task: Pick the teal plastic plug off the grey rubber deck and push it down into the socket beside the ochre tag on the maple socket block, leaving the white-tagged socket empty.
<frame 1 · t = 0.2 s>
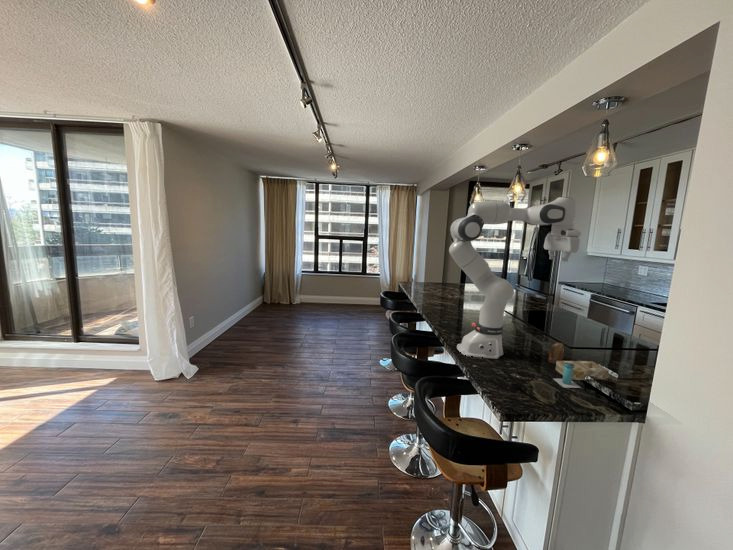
hand: (558, 260, 146), 48 cm above the counter, fingers open, 8 cm apart
plug: (566, 382, 121), point 1 cm above the counter, touching deck
deck: (566, 384, 121), on the counter
brown rounded slab: (555, 361, 143), on the counter
socket block: (580, 376, 129), on the counter
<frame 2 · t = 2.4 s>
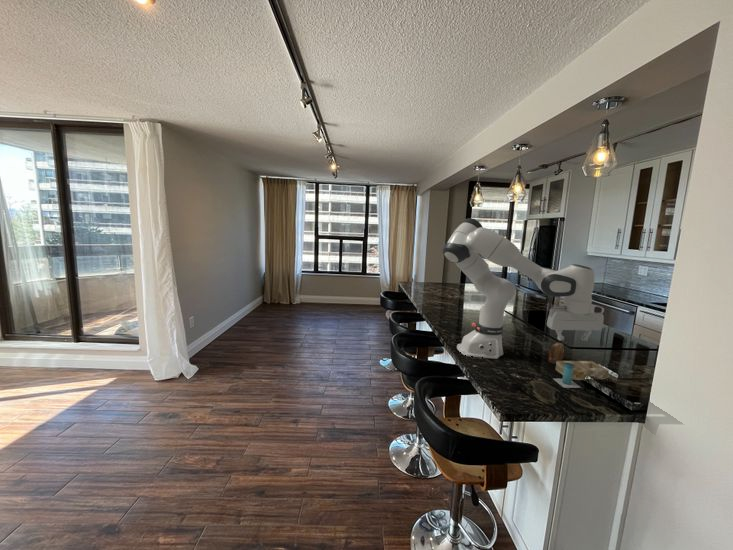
hand: (572, 340, 118), 19 cm above the counter, fingers open, 8 cm apart
nothing on the counter moved.
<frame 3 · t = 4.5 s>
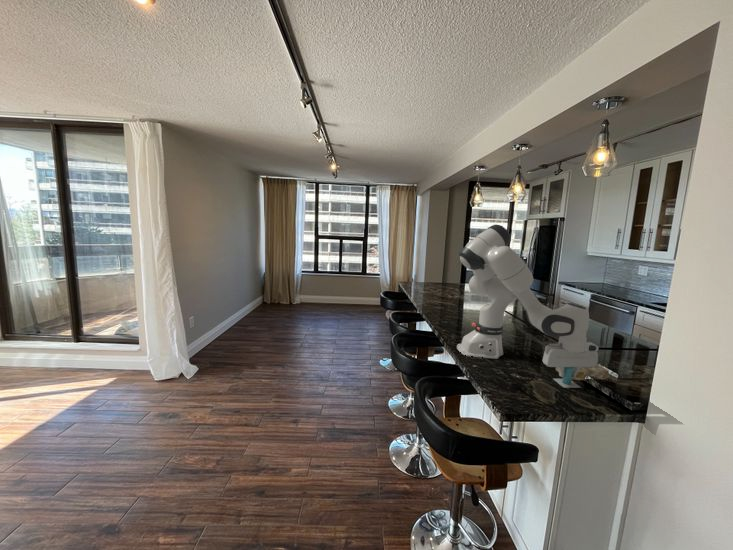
hand: (567, 376, 121), 4 cm above the counter, fingers closed on plug, 3 cm apart
plug: (566, 382, 121), point 1 cm above the counter, touching deck, gripper
everything else where it was.
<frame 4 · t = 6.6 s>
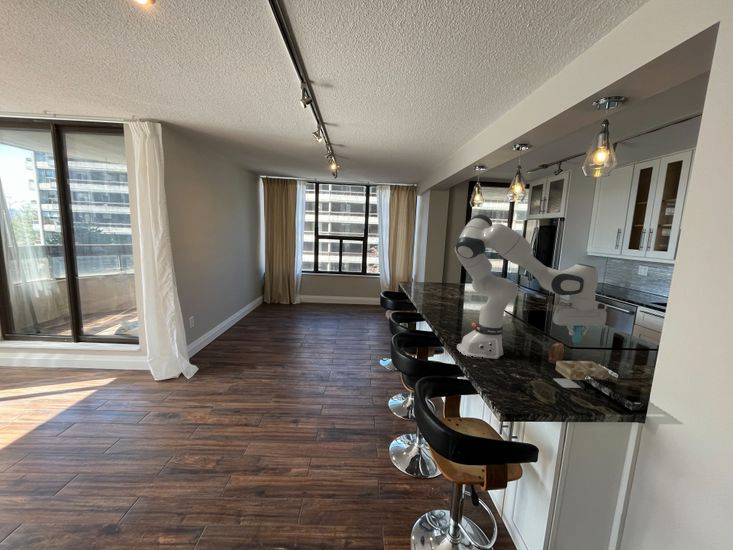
hand: (576, 335, 125), 19 cm above the counter, fingers closed on plug, 3 cm apart
plug: (576, 341, 126), point 16 cm above the counter, touching gripper
everything else where it was.
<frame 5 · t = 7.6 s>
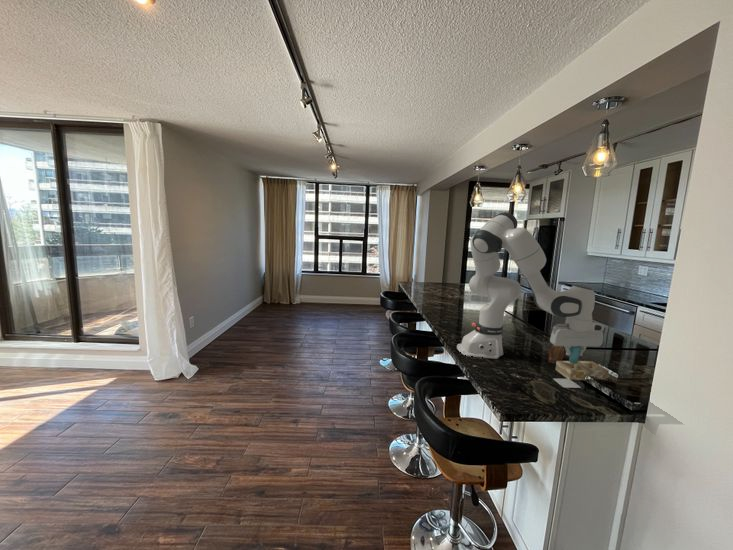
hand: (573, 355, 127), 10 cm above the counter, fingers closed on plug, 3 cm apart
plug: (573, 361, 127), point 7 cm above the counter, touching gripper
everything else where it was.
when the fingers open (6 cm above the counter, at t = 8.6 s): plug drops 2 cm, resting on socket block.
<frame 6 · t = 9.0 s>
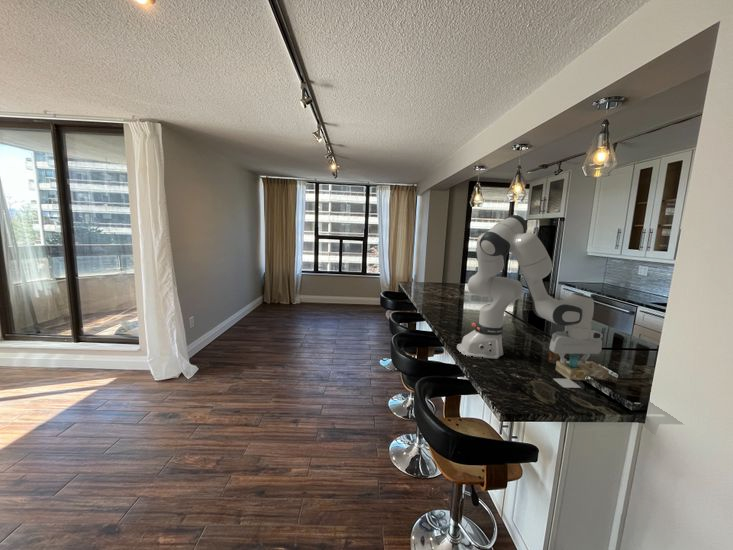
hand: (572, 362, 127), 6 cm above the counter, fingers open, 7 cm apart
plug: (571, 373, 128), point 2 cm above the counter, touching socket block
everything else where it was.
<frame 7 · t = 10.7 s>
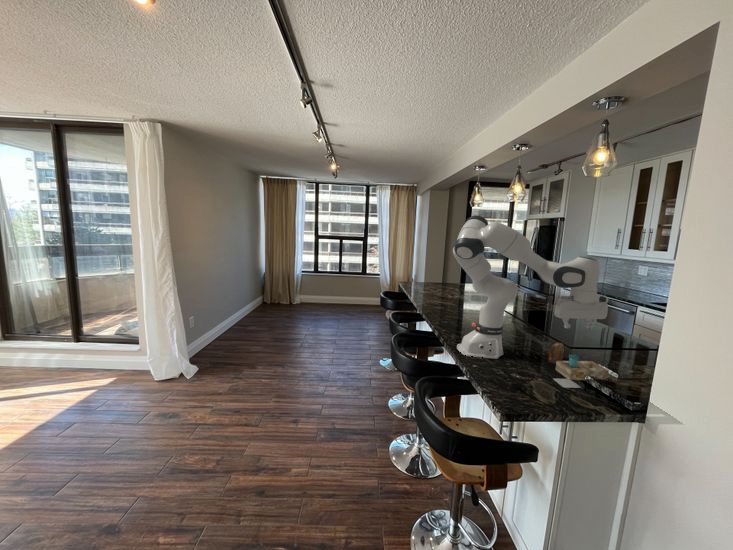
hand: (578, 328, 125), 21 cm above the counter, fingers open, 8 cm apart
nothing on the counter moved.
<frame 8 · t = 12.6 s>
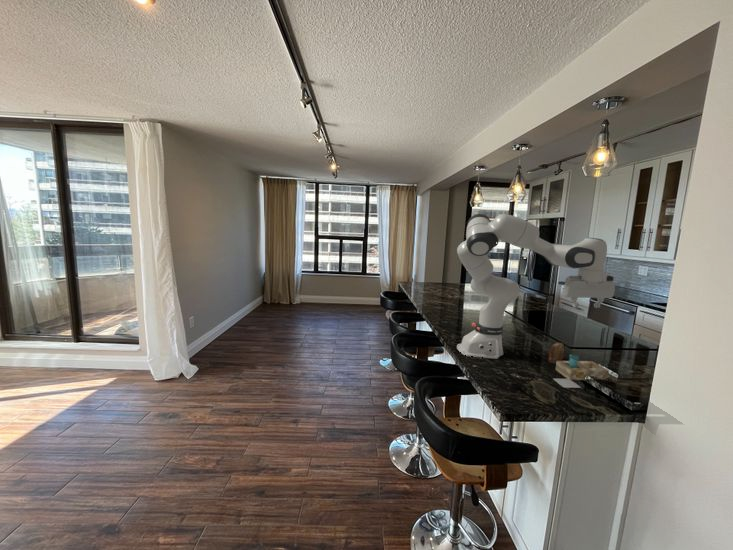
hand: (585, 307, 130), 29 cm above the counter, fingers open, 8 cm apart
nothing on the counter moved.
at the end: plug 0.1 cm from the target spot on the socket block, point 1.6 cm above the socket block's base; plug tilted 2°; the gripper is holding nothing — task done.
